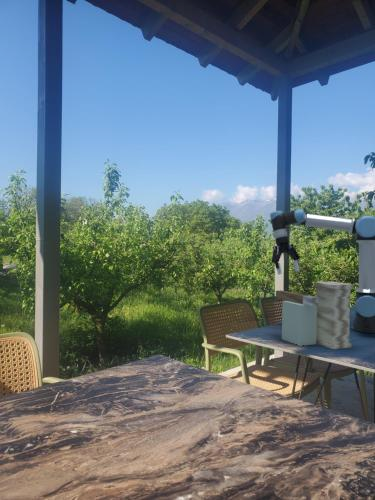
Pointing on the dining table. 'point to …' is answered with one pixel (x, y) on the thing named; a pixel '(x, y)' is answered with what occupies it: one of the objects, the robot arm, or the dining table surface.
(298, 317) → the block
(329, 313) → the tall stand
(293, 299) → the brown grey bar
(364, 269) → the robot arm
